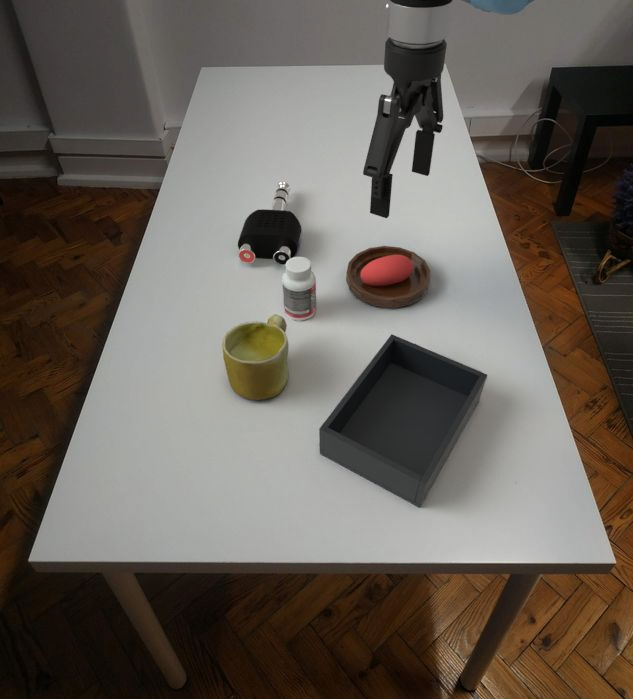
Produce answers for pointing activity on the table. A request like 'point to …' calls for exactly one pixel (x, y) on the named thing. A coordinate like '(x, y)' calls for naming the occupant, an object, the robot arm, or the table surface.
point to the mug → (257, 358)
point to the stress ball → (387, 270)
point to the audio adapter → (271, 231)
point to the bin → (402, 418)
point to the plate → (393, 293)
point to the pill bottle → (299, 289)
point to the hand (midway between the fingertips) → (400, 192)
